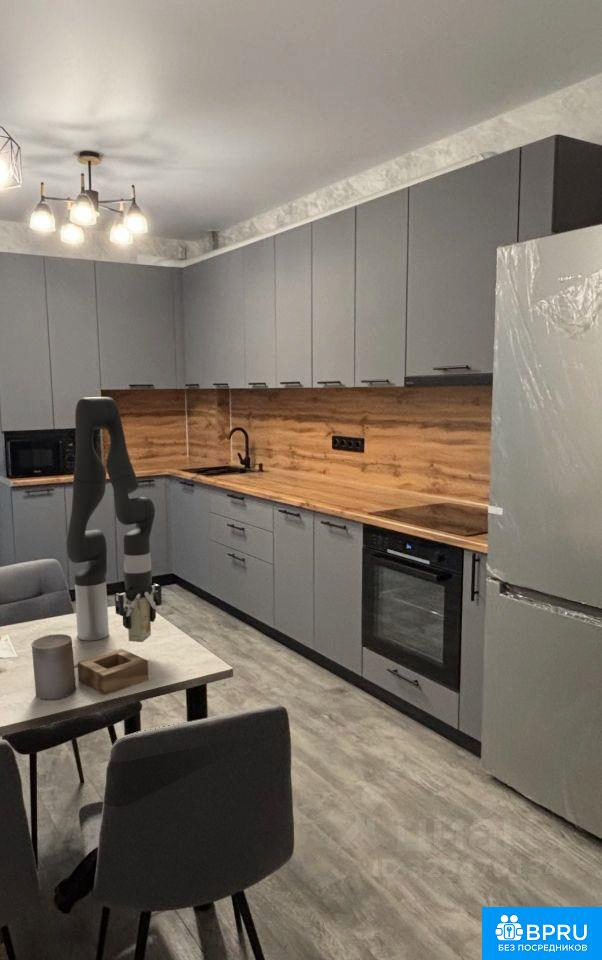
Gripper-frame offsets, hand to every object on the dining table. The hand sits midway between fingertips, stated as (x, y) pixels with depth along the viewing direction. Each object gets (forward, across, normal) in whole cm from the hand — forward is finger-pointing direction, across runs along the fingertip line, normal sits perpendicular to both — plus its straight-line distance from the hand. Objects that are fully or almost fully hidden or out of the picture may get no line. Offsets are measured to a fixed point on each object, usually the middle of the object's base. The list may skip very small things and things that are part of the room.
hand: (139, 624), depth 201 cm
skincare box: (+4, 0, 0) cm, 4 cm away
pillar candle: (+10, +28, +4) cm, 30 cm away
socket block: (+9, +14, +9) cm, 19 cm away
